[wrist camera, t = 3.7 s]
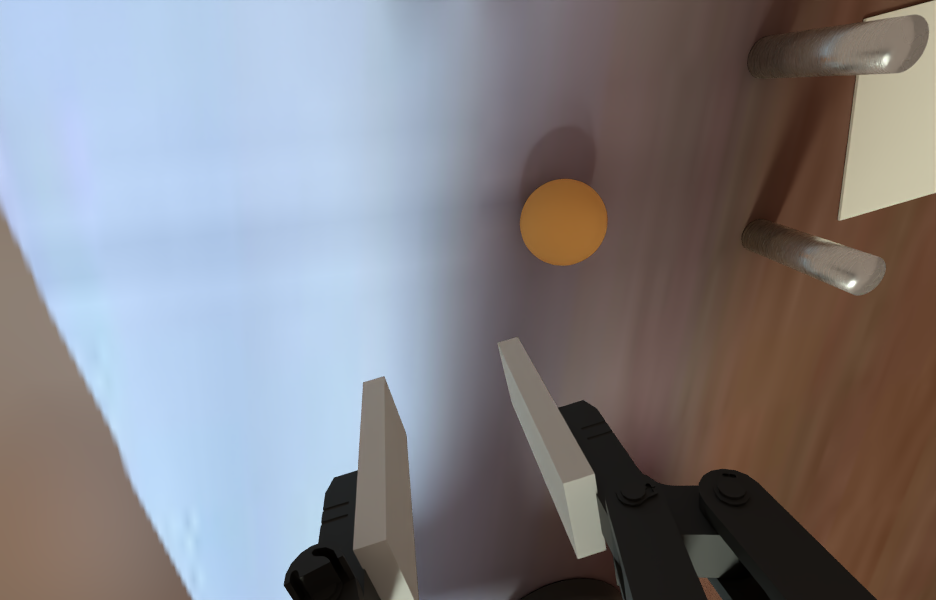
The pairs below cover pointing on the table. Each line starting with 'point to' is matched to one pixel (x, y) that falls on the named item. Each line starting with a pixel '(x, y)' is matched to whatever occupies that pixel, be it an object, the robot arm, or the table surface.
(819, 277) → the post
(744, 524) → the robot arm
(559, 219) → the ball
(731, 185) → the table surface
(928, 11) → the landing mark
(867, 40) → the post
